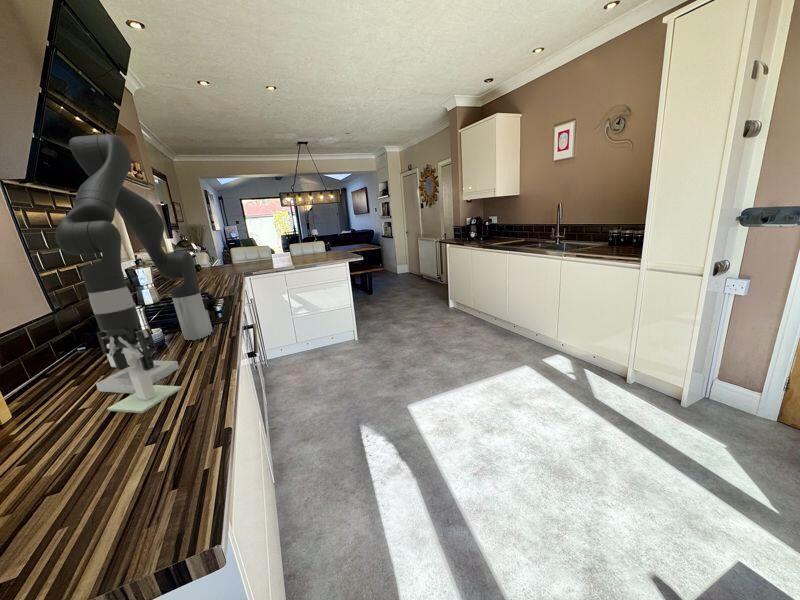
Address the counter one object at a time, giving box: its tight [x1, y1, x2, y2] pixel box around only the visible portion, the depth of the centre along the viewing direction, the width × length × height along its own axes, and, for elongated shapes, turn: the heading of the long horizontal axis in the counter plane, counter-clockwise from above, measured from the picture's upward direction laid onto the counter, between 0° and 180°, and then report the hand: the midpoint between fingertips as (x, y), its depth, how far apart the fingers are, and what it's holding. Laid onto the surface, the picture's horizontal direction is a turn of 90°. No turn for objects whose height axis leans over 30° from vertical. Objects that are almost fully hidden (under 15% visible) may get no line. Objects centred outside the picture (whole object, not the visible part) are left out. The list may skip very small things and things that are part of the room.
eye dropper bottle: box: [128, 354, 156, 401], centre depth 82 cm, size 4×6×12 cm
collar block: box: [95, 359, 180, 394], centre depth 94 cm, size 14×14×2 cm
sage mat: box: [106, 384, 182, 414], centre depth 83 cm, size 11×11×1 cm
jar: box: [106, 342, 143, 368], centre depth 107 cm, size 9×8×12 cm
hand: (136, 368), depth 81 cm, fingers open, 8 cm apart
